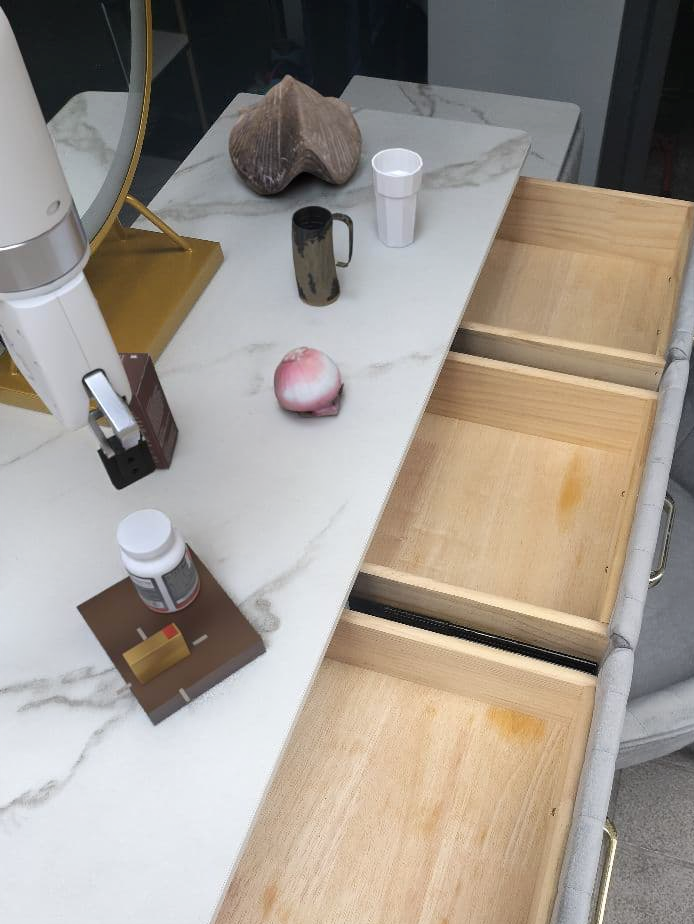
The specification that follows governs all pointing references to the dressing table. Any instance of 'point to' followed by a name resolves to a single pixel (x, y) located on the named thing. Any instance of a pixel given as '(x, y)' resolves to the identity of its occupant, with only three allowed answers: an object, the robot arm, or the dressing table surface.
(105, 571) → the dressing table surface
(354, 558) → the dressing table surface
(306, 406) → the onion
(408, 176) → the cup
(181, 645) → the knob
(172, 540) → the pill bottle
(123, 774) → the dressing table surface
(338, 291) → the mug
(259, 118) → the seashell
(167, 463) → the box
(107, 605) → the panel
